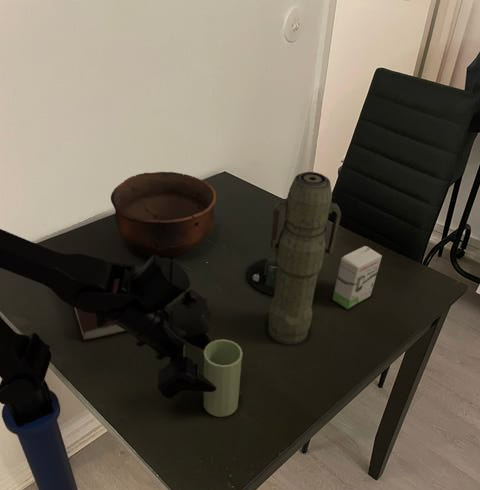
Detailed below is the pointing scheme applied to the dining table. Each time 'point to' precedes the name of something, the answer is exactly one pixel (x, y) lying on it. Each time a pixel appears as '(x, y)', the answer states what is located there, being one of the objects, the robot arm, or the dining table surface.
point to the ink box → (356, 276)
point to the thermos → (300, 254)
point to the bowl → (164, 212)
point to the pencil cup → (222, 376)
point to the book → (90, 323)
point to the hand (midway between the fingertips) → (214, 369)
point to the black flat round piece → (264, 275)
